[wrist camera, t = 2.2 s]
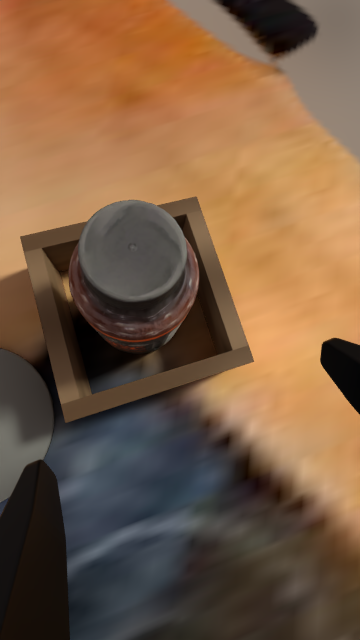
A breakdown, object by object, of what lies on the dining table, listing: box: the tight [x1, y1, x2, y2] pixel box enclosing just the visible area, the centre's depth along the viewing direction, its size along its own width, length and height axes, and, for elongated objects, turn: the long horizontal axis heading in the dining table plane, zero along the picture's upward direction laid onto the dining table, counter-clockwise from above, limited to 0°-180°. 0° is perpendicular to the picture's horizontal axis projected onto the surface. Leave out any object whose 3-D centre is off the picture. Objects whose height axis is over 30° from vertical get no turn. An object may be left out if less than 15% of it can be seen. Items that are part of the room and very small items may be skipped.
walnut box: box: [20, 197, 254, 423], centre depth 20 cm, size 11×11×4 cm
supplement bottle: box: [69, 200, 199, 354], centre depth 17 cm, size 6×6×11 cm
